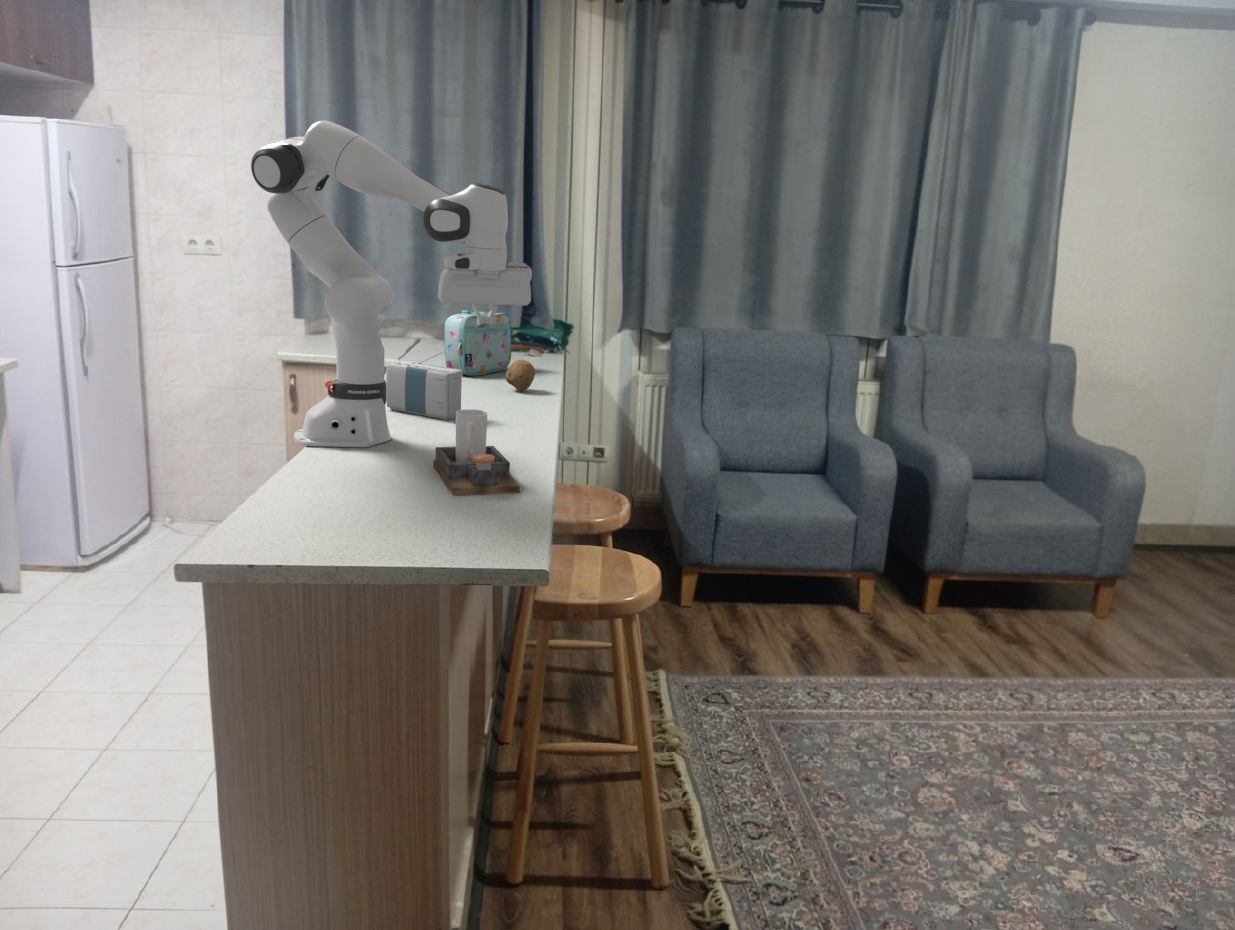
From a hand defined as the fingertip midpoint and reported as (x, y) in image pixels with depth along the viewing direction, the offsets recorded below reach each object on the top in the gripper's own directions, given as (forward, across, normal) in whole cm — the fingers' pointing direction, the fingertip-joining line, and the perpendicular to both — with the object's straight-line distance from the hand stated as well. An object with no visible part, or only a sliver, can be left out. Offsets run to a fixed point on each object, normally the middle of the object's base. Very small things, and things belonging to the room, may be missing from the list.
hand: (484, 324), depth 223 cm
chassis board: (+31, +4, +15) cm, 35 cm away
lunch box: (+31, -25, -115) cm, 122 cm away
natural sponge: (+31, -31, -82) cm, 93 cm away
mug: (+30, +5, +11) cm, 32 cm away
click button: (+29, +5, +22) cm, 37 cm away
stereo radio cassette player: (+31, +4, -51) cm, 60 cm away
